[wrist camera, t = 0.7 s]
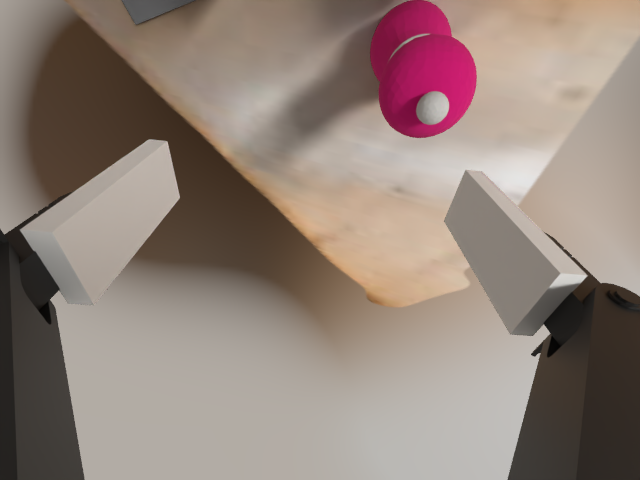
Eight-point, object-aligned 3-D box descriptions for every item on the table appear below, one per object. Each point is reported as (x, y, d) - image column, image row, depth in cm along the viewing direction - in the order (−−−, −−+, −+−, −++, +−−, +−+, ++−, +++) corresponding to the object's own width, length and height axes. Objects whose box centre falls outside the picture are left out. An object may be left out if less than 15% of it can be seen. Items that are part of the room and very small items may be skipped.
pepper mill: (368, 79, 33) (365, 170, 19) (372, -3, 28) (373, 38, 14) (433, 77, 32) (482, 172, 18) (450, -7, 27) (535, 32, 13)
